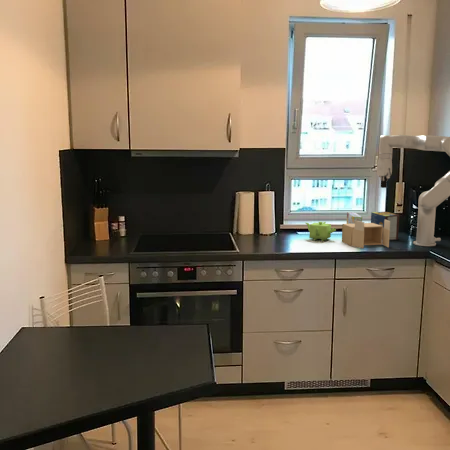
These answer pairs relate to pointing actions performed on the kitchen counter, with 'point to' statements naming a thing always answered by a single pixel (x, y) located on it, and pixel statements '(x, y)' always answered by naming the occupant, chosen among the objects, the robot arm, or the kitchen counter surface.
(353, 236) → the flap
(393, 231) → the protein box
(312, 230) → the kettle
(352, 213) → the snack box
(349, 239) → the carton
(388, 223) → the flap
